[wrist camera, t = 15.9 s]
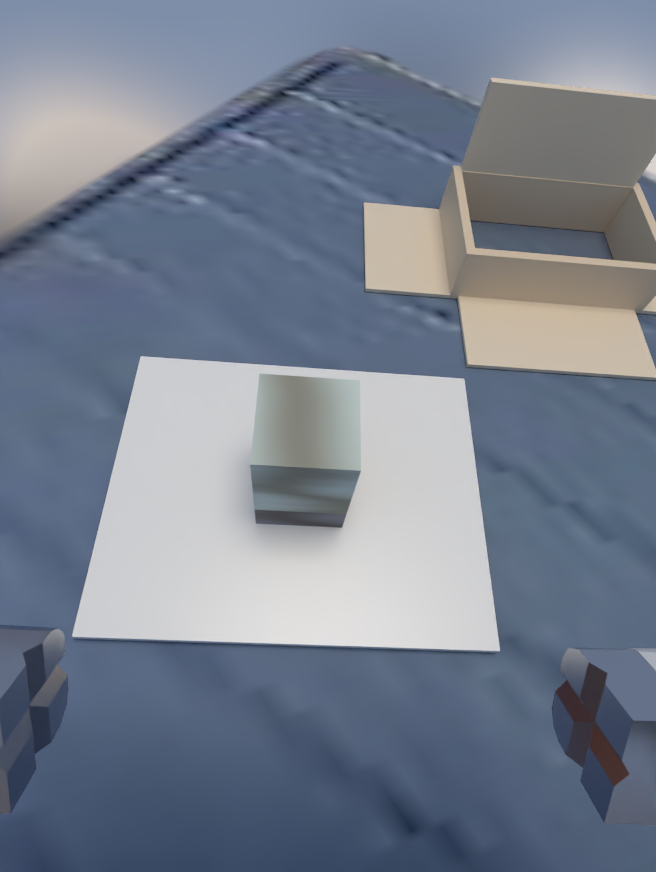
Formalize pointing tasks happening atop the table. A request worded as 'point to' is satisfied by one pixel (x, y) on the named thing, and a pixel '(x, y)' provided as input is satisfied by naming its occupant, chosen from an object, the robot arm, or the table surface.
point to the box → (305, 450)
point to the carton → (544, 207)
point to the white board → (289, 544)
